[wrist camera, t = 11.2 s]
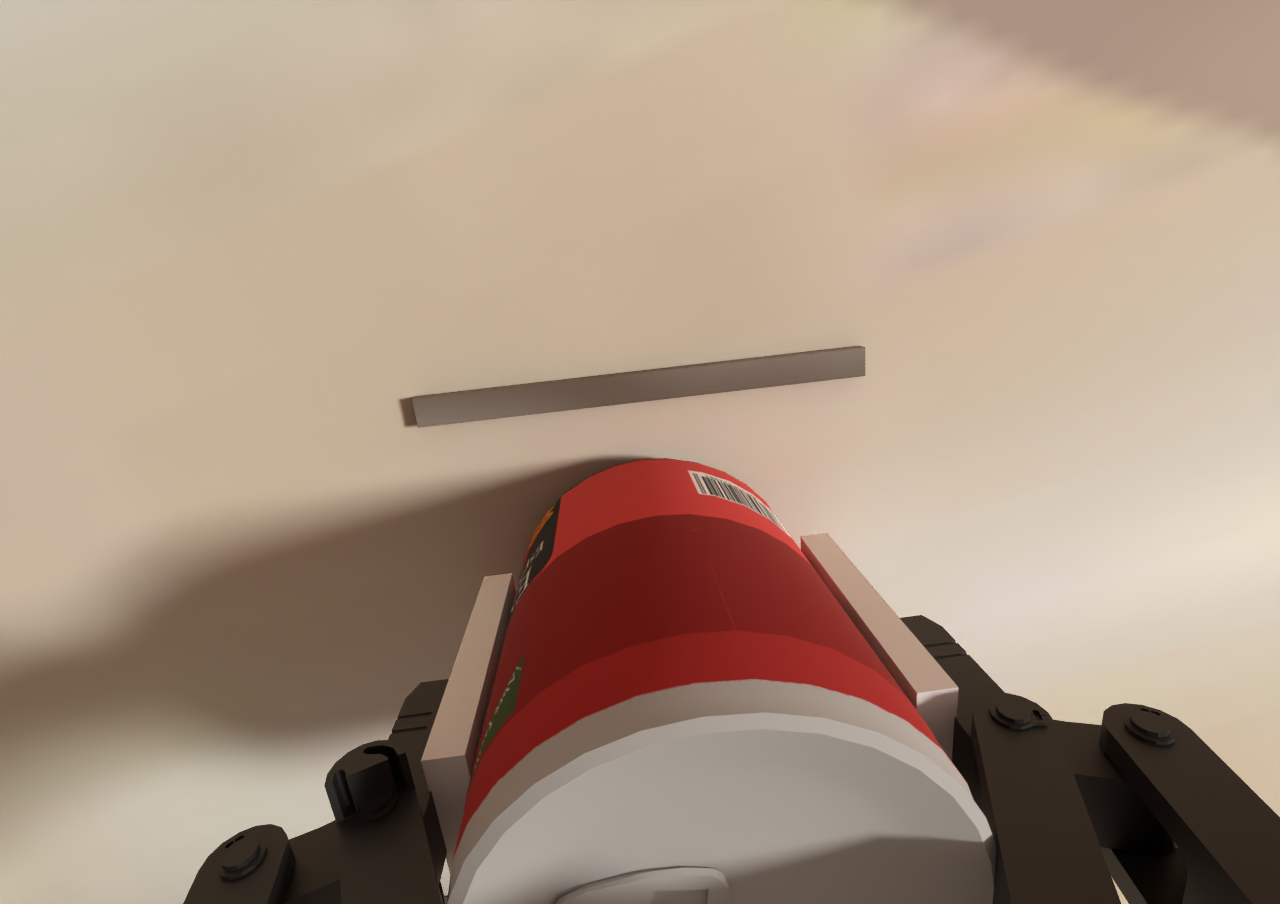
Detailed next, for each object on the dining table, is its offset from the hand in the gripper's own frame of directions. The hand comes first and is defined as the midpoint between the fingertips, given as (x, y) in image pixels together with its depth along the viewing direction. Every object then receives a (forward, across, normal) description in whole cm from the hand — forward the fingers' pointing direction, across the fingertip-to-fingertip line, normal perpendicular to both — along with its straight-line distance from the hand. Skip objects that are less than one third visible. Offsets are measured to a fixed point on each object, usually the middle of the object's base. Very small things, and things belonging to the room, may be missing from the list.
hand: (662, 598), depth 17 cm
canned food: (+2, 0, 0) cm, 2 cm away
